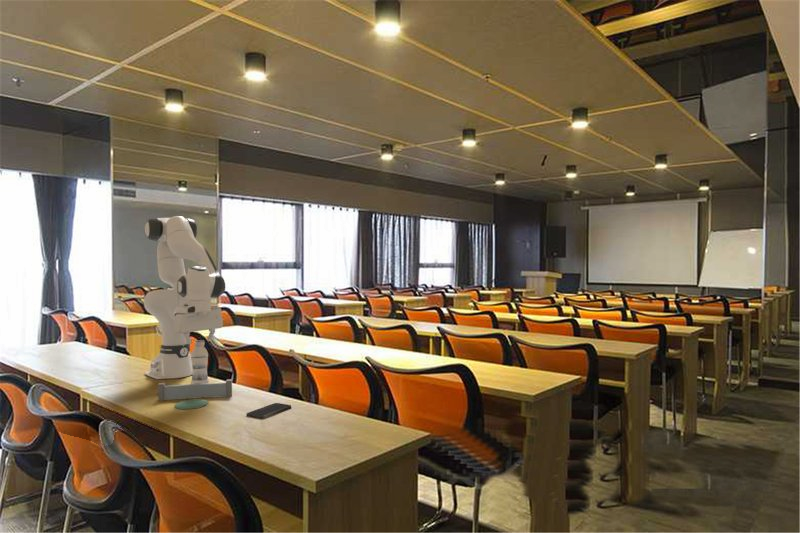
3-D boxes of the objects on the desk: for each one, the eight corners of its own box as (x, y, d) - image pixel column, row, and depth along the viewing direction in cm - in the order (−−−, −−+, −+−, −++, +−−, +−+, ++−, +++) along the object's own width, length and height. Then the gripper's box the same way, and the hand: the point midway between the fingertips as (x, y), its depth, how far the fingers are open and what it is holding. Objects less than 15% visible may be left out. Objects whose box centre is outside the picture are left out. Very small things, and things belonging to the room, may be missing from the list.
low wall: (158, 400, 190) (157, 384, 190) (159, 399, 192) (159, 383, 192) (231, 396, 196) (231, 380, 196) (232, 394, 198) (231, 379, 198)
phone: (292, 405, 181) (262, 417, 167) (292, 408, 181) (262, 420, 167) (275, 402, 184) (244, 413, 171) (275, 405, 184) (244, 417, 171)
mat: (168, 406, 182) (168, 405, 182) (194, 399, 192) (194, 398, 192) (187, 411, 177) (187, 410, 177) (214, 403, 186) (214, 402, 186)
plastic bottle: (202, 393, 200) (202, 342, 199) (187, 392, 201) (186, 341, 201) (212, 389, 206) (211, 339, 206) (197, 388, 207) (196, 339, 207)
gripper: (216, 305, 213) (216, 338, 213) (171, 309, 196) (171, 345, 196) (226, 305, 210) (226, 339, 210) (181, 309, 193) (182, 346, 193)
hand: (199, 342), depth 203 cm, fingers open, 8 cm apart
